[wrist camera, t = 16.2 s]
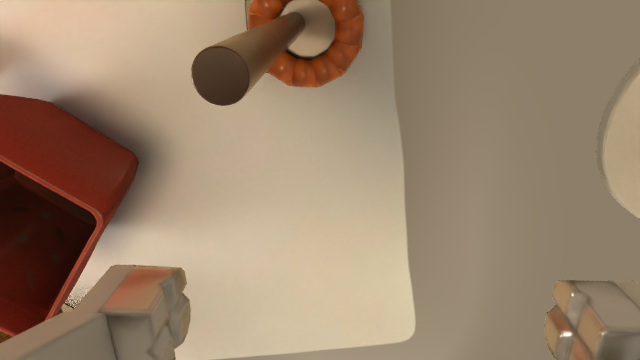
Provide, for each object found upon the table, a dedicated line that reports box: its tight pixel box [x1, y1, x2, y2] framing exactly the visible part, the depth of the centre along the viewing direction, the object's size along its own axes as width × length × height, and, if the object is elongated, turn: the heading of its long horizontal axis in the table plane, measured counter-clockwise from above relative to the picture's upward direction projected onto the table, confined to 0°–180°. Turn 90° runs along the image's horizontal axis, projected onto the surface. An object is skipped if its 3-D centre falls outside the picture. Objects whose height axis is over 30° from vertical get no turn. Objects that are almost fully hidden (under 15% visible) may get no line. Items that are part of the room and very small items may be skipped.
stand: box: [191, 0, 335, 106], centre depth 32 cm, size 10×10×32 cm
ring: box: [248, 0, 364, 87], centre depth 44 cm, size 12×12×3 cm
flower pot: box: [0, 94, 139, 337], centre depth 46 cm, size 19×19×17 cm
